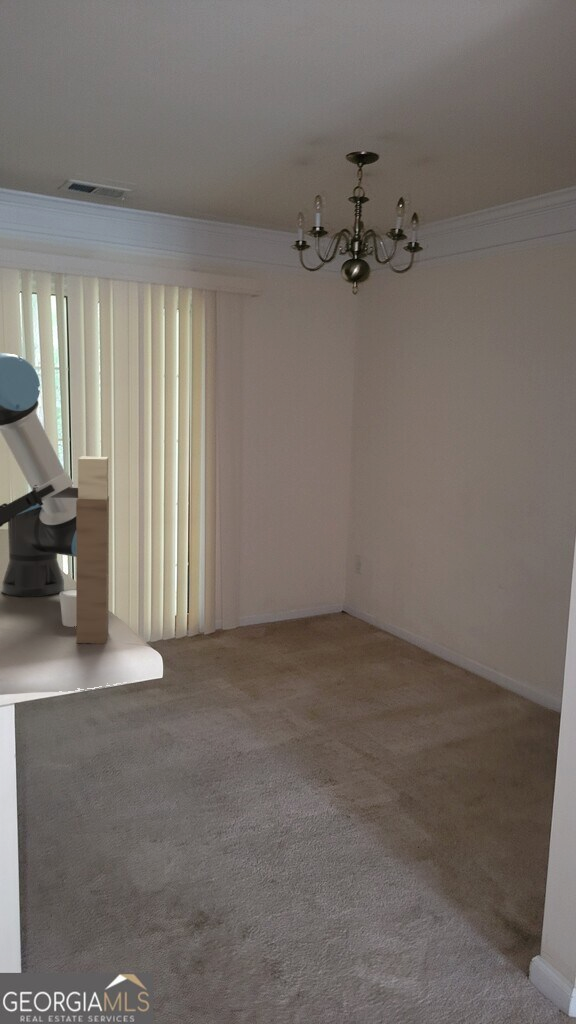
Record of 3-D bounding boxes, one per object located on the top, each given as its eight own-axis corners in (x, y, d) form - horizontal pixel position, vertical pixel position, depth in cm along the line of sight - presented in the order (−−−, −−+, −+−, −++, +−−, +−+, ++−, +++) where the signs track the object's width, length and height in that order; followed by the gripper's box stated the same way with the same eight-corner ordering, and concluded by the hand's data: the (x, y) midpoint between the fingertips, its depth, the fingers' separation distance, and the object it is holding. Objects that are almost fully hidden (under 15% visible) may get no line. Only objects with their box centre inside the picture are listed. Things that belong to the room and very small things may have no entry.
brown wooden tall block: (80, 632, 162) (80, 495, 158) (108, 632, 163) (108, 495, 159) (76, 643, 154) (76, 500, 150) (106, 643, 155) (106, 500, 151)
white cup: (59, 628, 164) (59, 596, 163) (59, 619, 171) (59, 589, 170) (92, 627, 166) (92, 595, 165) (91, 618, 173) (91, 588, 172)
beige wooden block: (36, 494, 156) (36, 455, 155) (108, 495, 158) (108, 456, 157) (31, 498, 149) (30, 457, 148) (106, 499, 152) (106, 459, 151)
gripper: (-19, 545, 159) (82, 490, 161) (-37, 559, 145) (75, 499, 147) (-39, 514, 158) (63, 459, 160) (-59, 525, 143) (54, 464, 145)
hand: (69, 478), depth 153 cm, fingers closed on beige wooden block, 2 cm apart
